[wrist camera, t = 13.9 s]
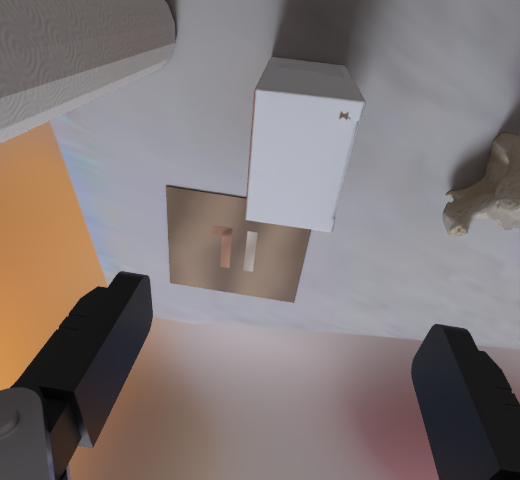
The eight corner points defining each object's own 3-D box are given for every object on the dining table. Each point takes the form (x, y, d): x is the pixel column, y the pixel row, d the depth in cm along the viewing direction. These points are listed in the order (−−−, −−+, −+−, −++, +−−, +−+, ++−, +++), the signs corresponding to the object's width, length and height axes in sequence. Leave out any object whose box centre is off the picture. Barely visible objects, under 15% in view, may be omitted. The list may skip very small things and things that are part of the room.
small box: (271, 55, 26) (253, 82, 17) (347, 64, 25) (368, 97, 17) (260, 159, 30) (242, 222, 22) (325, 167, 30) (332, 235, 21)
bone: (484, 254, 31) (491, 287, 23) (426, 206, 33) (412, 221, 24) (576, 177, 27) (626, 184, 19) (504, 128, 29) (521, 113, 20)
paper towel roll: (193, 47, 26) (-45, 147, 8) (131, 87, 28) (-164, 233, 10) (132, -66, 23) (-477, -296, 5) (67, -11, 25) (-525, -41, 7)
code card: (315, 209, 32) (315, 209, 32) (293, 301, 39) (293, 302, 39) (166, 186, 33) (165, 186, 33) (170, 282, 39) (170, 283, 39)
